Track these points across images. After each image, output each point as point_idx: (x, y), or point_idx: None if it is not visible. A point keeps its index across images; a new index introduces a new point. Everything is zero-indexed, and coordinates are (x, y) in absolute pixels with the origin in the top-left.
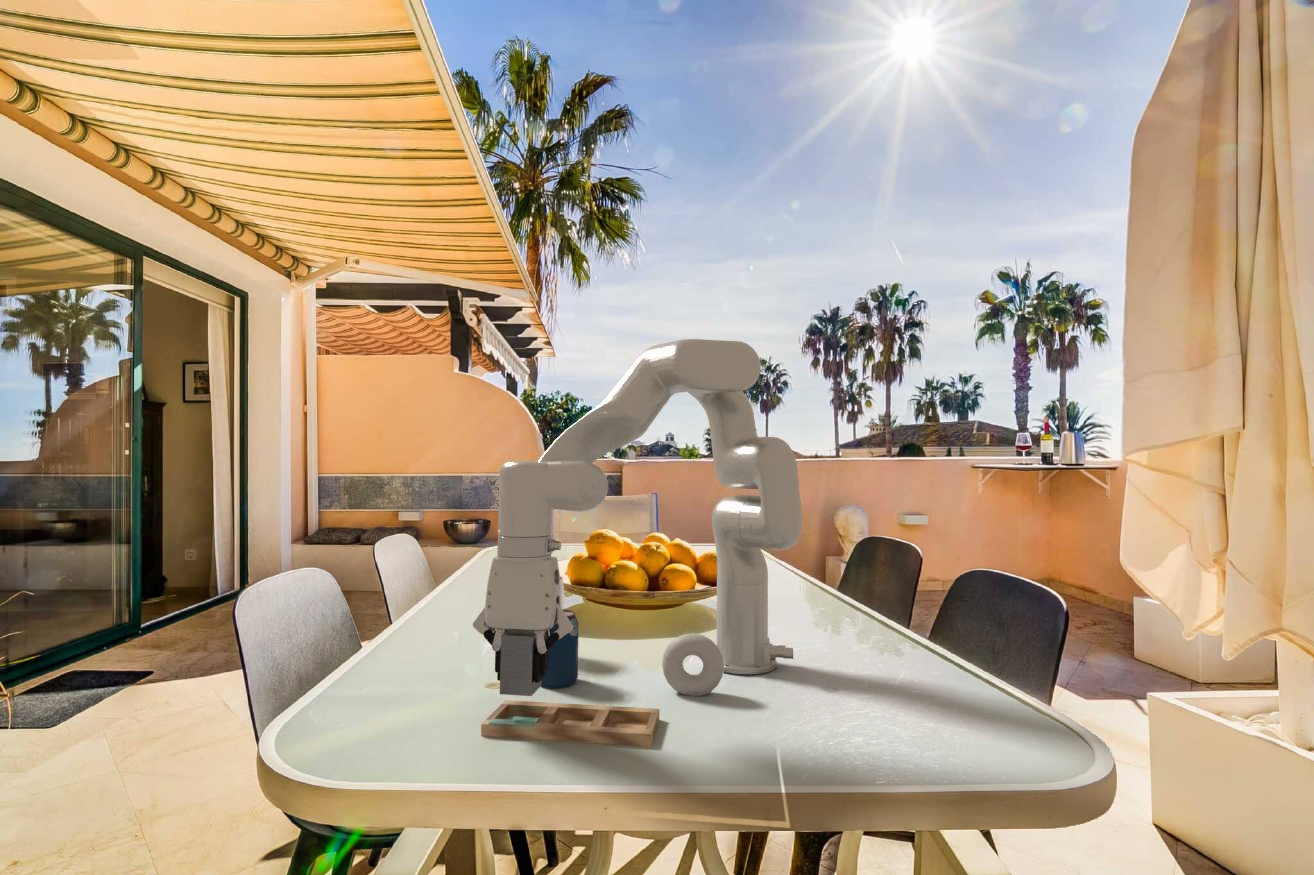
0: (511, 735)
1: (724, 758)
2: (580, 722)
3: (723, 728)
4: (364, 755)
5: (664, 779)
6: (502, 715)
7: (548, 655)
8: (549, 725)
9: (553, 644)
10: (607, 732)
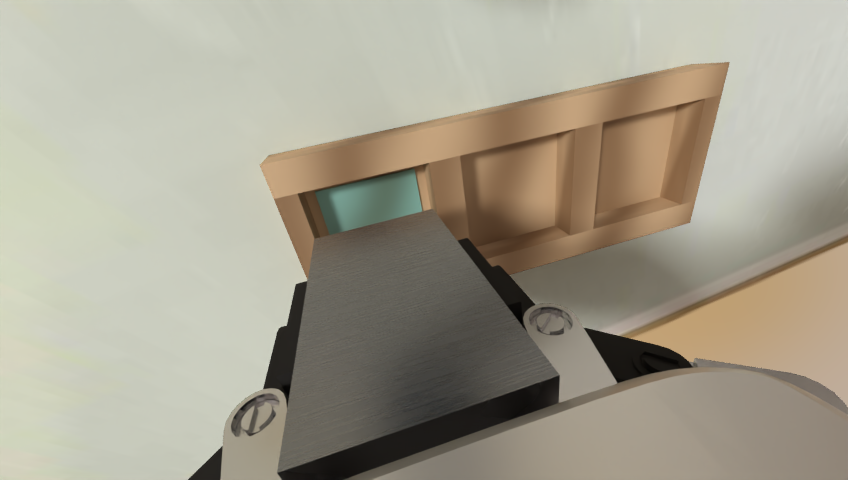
0: None
1: (770, 191)
2: (516, 158)
3: (818, 45)
4: (165, 439)
5: (672, 287)
6: (315, 232)
7: (530, 300)
8: None
9: (593, 334)
10: (608, 245)
